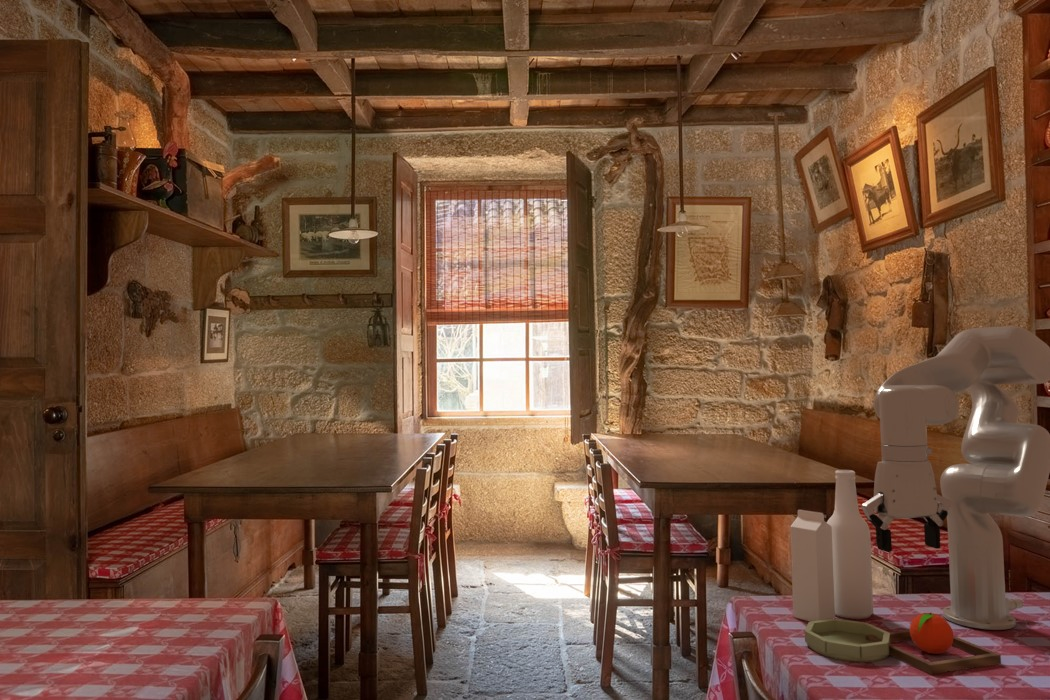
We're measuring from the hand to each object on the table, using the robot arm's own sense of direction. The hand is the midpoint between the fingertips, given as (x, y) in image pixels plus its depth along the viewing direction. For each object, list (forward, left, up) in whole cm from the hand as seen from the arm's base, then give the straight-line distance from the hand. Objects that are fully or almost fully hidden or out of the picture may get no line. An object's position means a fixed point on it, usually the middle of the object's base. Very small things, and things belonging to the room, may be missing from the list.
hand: (908, 548), depth 131 cm
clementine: (-3, +1, -19) cm, 19 cm away
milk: (+4, -22, -19) cm, 29 cm away
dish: (+9, -6, -19) cm, 22 cm away
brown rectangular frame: (-3, +1, -19) cm, 19 cm away
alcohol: (-5, -22, -19) cm, 29 cm away
